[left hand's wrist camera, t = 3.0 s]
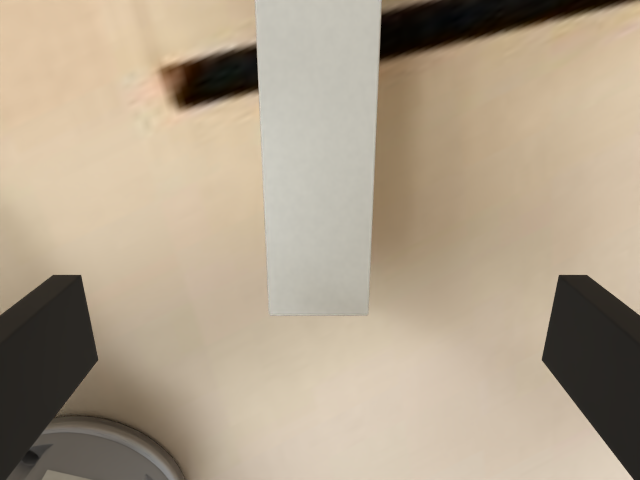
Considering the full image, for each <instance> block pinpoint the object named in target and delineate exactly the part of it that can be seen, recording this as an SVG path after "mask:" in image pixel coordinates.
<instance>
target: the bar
mask: <svg viewBox="0 0 640 480" xmlns="http://www.w3.org/2000/svg"><path fill="white" fill-rule="evenodd" d="M381 7H382V0H255V16H256V38H257V60H258V83H259V105H260V127H261V149H262V172H263V194H264V216H265V239H266V261H267V283H268V305H269V315H270V316H367V315H368V313H369V289H370V266H371V242H372V219H373V195H374V172H375V148H376V125H377V101H378V78H379V54H380V31H381Z"/></svg>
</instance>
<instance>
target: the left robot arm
mask: <svg viewBox="0 0 640 480" xmlns="http://www.w3.org/2000/svg"><path fill="white" fill-rule="evenodd" d="M97 361H98V356H97V351H96V346H95V342H94V337H93V332H92V327H91V322H90V317H89V312H88V307H87V302H86V297H85V292H84V287H83V282H82V277H81V275H53V276H51V277H50V278H49V279H47V280H46V281H45V282H43V283H42V284H41V285H39V286H38V287H37V288H36V289H34V290H33V291H32V292H30V293H29V294H28V295H26V296H25V297H24V298H22V299H21V300H20V301H19V302H17V303H16V304H15V305H13V306H12V307H11V308H9V309H8V310H7V311H5V312H4V313H3V314H2V315H0V480H185V478H184V476H183V474H182V472H181V470H180V468H179V467H178V465H177V464H176V462H175V461H174V459H173V458H172V457H171V456H170V455H169V454H168V453H167V452H166V451H165V450H164V449H163V448H162V447H161V446H160V445H159V444H157V443H156V442H155V441H153V440H152V439H150V438H149V437H147V436H146V435H144V434H142V433H141V432H139V431H137V430H135V429H133V428H130V427H128V426H126V425H123V424H120V423H117V422H114V421H110V420H106V419H101V418H95V417H87V416H65V417H57V418H54V417H55V415H56V414H57V413H58V412H59V410H60V409H61V408H62V406H63V405H64V404H65V402H66V401H67V400H68V399H69V397H70V396H71V395H72V393H73V392H74V391H75V389H76V388H77V387H78V386H79V384H80V383H81V382H82V380H83V379H84V378H85V376H86V375H87V374H88V372H89V371H90V370H91V369H92V367H93V366H94V365H95V363H96V362H97ZM542 361H543V362H544V363H545V365H546V366H547V367H548V369H549V370H550V371H551V372H552V374H553V375H554V376H555V378H556V379H557V380H558V382H559V383H560V384H561V386H562V387H563V388H564V389H565V391H566V392H567V393H568V395H569V396H570V397H571V399H572V400H573V401H574V402H575V404H576V405H577V406H578V408H579V409H580V410H581V412H582V413H583V414H584V415H585V417H586V418H587V419H588V421H589V422H590V423H591V425H592V426H593V427H594V428H595V430H596V431H597V432H598V434H599V435H600V436H601V438H602V439H603V440H604V441H605V443H606V444H607V445H608V447H609V448H610V449H611V451H612V452H613V453H614V455H615V456H616V457H617V458H618V460H619V461H620V462H621V464H622V465H623V466H624V468H625V469H626V470H627V471H628V473H629V474H630V475H631V477H632V478H633V479H634V480H640V315H638V314H637V313H636V312H635V311H633V310H632V309H631V308H629V307H628V306H627V305H625V304H624V303H623V302H621V301H620V300H619V299H618V298H616V297H615V296H614V295H612V294H611V293H610V292H608V291H607V290H606V289H604V288H603V287H602V286H601V285H599V284H598V283H597V282H595V281H594V280H593V279H591V278H590V277H589V276H587V275H559V277H558V282H557V287H556V292H555V297H554V302H553V307H552V312H551V317H550V322H549V327H548V332H547V337H546V341H545V346H544V351H543V356H542Z"/></svg>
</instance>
